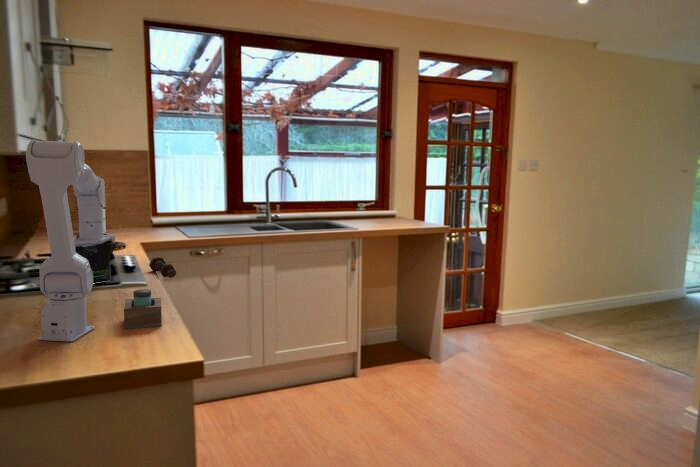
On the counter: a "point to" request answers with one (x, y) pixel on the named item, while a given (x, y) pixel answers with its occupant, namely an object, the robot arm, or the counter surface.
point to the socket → (142, 314)
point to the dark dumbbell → (162, 267)
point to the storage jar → (97, 264)
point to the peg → (142, 297)
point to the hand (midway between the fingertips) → (92, 271)
